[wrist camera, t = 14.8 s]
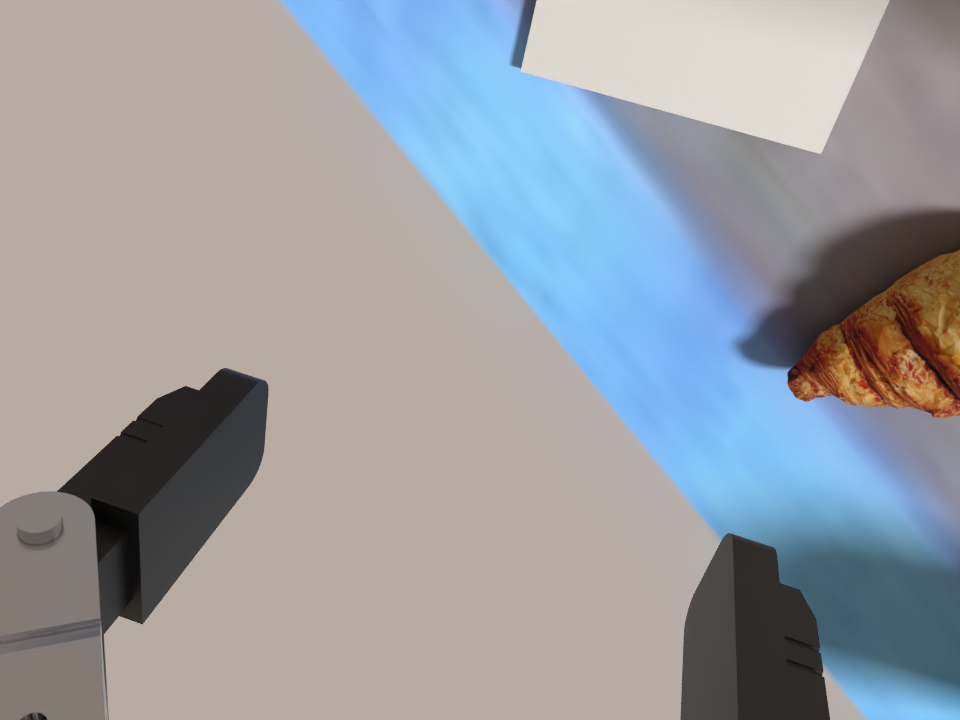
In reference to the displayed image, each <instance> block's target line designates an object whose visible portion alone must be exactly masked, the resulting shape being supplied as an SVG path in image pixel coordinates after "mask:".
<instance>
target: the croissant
mask: <svg viewBox="0 0 960 720" xmlns="http://www.w3.org/2000/svg"><path fill="white" fill-rule="evenodd" d="M787 383H788V386H789V388H790V390H791V391H792V392H793V394H794V396H795V397H796V398H798V399H800V400H804V401H810V400H812V399H814V398H818V397H825V396H831V395H834V396H836V397H838V398H840V399H841V400H843V401H845V402H846V403H847V404H851V405H865V406H867V407H869V408H871V406H880V407H887V406H892V407H895V408H897V409H898V408H902V407H913V408H916V409H920V410H923V411H926V412H929V413H931V414H932V416H933V417H938V418H947V417H951V416H954V415H955V416H958V415H960V250H958V251H956V252H953V253H948V254H943V255H939V256H937V257H936V258H934V259H932V260H930V261H928V262H926V263H924V264H922V265H921V266H919V267H917V268H916V269H914V270H912V271H911V272H909V273H908V274H906V275H904V276H903V277H901V278H900V279H898V280H897V281H896V282H895V283H894V284H893V285H892V286H891V287H889V288H888V289H887V290H886V291H884V292H882V293H880V294H879V295H877V296H875V297H873V298H872V299H871V300H869V301H868V302H867V303H866V304H864V305H863V306H862V307H860V308H859V309H857V310H856V311H855V312H853V313H852V314H850V315H849V316H847V317H846V318H845V319H844V320H843V321H842V322H841V323H840V324H839V325H834V326H832V327H831V328H829V329H828V330H826V331H824V332H822V333H821V334H820V335H819V336H818V338H817V339H816V340H815V341H814V342H813V344H812V345H811V346H810V347H809V348H808V350H807V351H806V352H805V354H804V355H803V356H802V357H801V359H800V360H799V361H798V362H797V364H796V365H794V366H793V367H792V368H791V369H790V371H789V372H788V382H787Z"/></svg>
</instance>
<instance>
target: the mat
mask: <svg viewBox="0 0 960 720" xmlns="http://www.w3.org/2000/svg"><path fill="white" fill-rule="evenodd" d="M889 1H890V0H537V1H536V5H535V10H534V14H533V19H532V23H531V28H530V32H529V36H528V41H527V45H526V50H525V54H524V59H523V63H522V67H521V72H525V73H528V74H532V75H536V76H539V77H543V78H547V79H550V80H554V81H557V82H561V83H565V84H568V85H572V86H576V87H579V88H583V89H586V90H590V91H594V92H597V93H601V94H605V95H608V96H612V97H615V98H619V99H623V100H626V101H630V102H634V103H637V104H641V105H644V106H648V107H652V108H655V109H659V110H663V111H666V112H670V113H674V114H677V115H681V116H684V117H688V118H692V119H695V120H699V121H703V122H706V123H710V124H713V125H717V126H721V127H724V128H728V129H732V130H735V131H739V132H742V133H746V134H750V135H753V136H757V137H761V138H764V139H768V140H771V141H775V142H779V143H782V144H786V145H790V146H793V147H797V148H800V149H804V150H808V151H811V152H815V153H819V154H821V153H822V150H823V148H824V146H825V144H826V141H827V139H828V137H829V135H830V132H831V130H832V128H833V126H834V124H835V121H836V119H837V117H838V115H839V112H840V110H841V108H842V106H843V103H844V101H845V99H846V97H847V94H848V92H849V90H850V88H851V86H852V83H853V81H854V79H855V77H856V74H857V72H858V70H859V68H860V65H861V63H862V61H863V59H864V57H865V54H866V52H867V50H868V48H869V45H870V43H871V41H872V39H873V36H874V34H875V32H876V30H877V27H878V25H879V23H880V21H881V19H882V16H883V14H884V12H885V10H886V7H887V5H888V3H889Z"/></svg>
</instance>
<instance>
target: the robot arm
mask: <svg viewBox="0 0 960 720" xmlns="http://www.w3.org/2000/svg"><path fill="white" fill-rule="evenodd" d="M267 404H268V384H267V382H266V381H264V380H261V379H258V378H255V377H252V376H249V375H246V374H243V373H240V372H237V371H233V370H230V369H227V368H224V369H221V370H220V371H219V372H217V373H216V374H215V375H214V376H213V377H212V378H211V379H210V380H209V381H208V382H207V383H206V384H205V385H204V386H203V387H202V388H201V389H200V390H196V389H193V388H190V387H187V386H185V387H183V388H180V389H178V390H176V391H173V392H171V393H169V394H167V395H164V396H162V397H160V398H157V399H156V400H155V401H154V402H153V403H152V404H151V405H150V406H149V407H148V408H146V409H145V410H144V411H143V412H142V413H141V414H140V415H139V416H138V417H137V420H136V421H132V423H130V424H129V425H128V426H127V427H126V428H125V429H124V430H123V431H122V432H121V435H120V436H116V437H115V438H114V439H113V440H112V441H111V442H110V443H109V444H108V445H107V446H106V447H105V448H104V449H102V450H101V451H100V452H99V453H98V454H97V455H96V456H95V457H94V458H93V459H92V460H91V461H89V462H88V463H87V464H86V465H85V466H84V467H83V468H82V469H81V470H80V471H79V472H78V473H77V474H76V475H74V476H73V477H72V478H71V479H70V480H69V481H68V482H67V483H66V484H65V485H64V486H62V487H61V488H60V489H59V490H58V491H57V492H38V493H32V494H28V495H25V496H21V497H19V498H16V499H14V500H12V501H10V502H8V503H6V504H5V505H3V506H2V507H0V720H109V714H108V696H107V679H106V662H105V646H104V634H105V632H106V631H107V630H108V629H109V627H110V626H111V625H112V624H113V622H114V621H115V620H116V619H117V617H118V616H121V617H124V618H126V619H129V620H132V621H135V622H138V623H140V624H143V623H144V622H145V620H146V619H147V618H148V617H149V615H150V614H151V613H152V611H153V610H154V609H155V607H156V606H157V605H158V604H159V602H160V601H161V600H162V598H163V597H164V596H165V594H166V593H167V592H168V591H169V589H170V588H171V586H172V585H173V584H174V583H175V581H176V580H177V579H178V578H179V576H180V575H181V573H182V572H183V571H184V570H185V568H186V567H187V566H188V565H189V563H190V562H191V561H192V559H193V558H194V557H195V555H196V554H197V553H198V551H199V550H200V549H201V548H202V546H203V545H204V544H205V542H206V541H207V540H208V539H209V537H210V536H211V535H212V533H213V532H214V531H215V529H216V528H217V527H218V526H219V524H220V523H221V522H222V520H223V519H224V518H225V516H226V515H227V514H228V512H229V511H230V510H231V509H232V507H233V506H234V505H235V503H236V502H237V501H238V500H239V498H240V497H241V496H242V494H243V493H244V492H245V490H246V489H247V488H248V486H249V485H250V484H251V482H252V481H253V479H254V477H255V475H256V473H257V471H258V469H259V466H260V463H261V461H262V457H263V452H264V444H265V431H266V430H265V429H266V416H267ZM819 649H820V644H819V637H818V630H817V623H816V618H815V617H814V615H813V613H812V611H811V609H810V608H809V606H808V604H807V602H806V601H805V599H804V597H803V595H802V593H801V592H800V590H798V589H795V588H792V587H789V586H786V585H783V584H780V582H779V572H778V561H777V553H776V550H775V549H774V548H773V547H770V546H767V545H764V544H761V543H758V542H755V541H752V540H749V539H746V538H742V537H739V536H736V535H733V534H730V533H728V534H726V535H725V537H724V538H723V539H722V541H721V543H720V545H719V547H718V549H717V551H716V553H715V555H714V557H713V558H712V560H711V563H710V564H709V566H708V568H707V570H706V572H705V574H704V576H703V578H702V580H701V582H700V584H699V585H698V587H697V589H696V591H695V593H694V595H693V598H692V600H691V603H690V606H689V609H688V613H687V618H686V622H685V629H684V647H683V674H682V701H681V720H830V717H829V709H828V702H827V695H826V687H825V680H824V677H822V673H823V666H822V659H821V653H819Z"/></svg>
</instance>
